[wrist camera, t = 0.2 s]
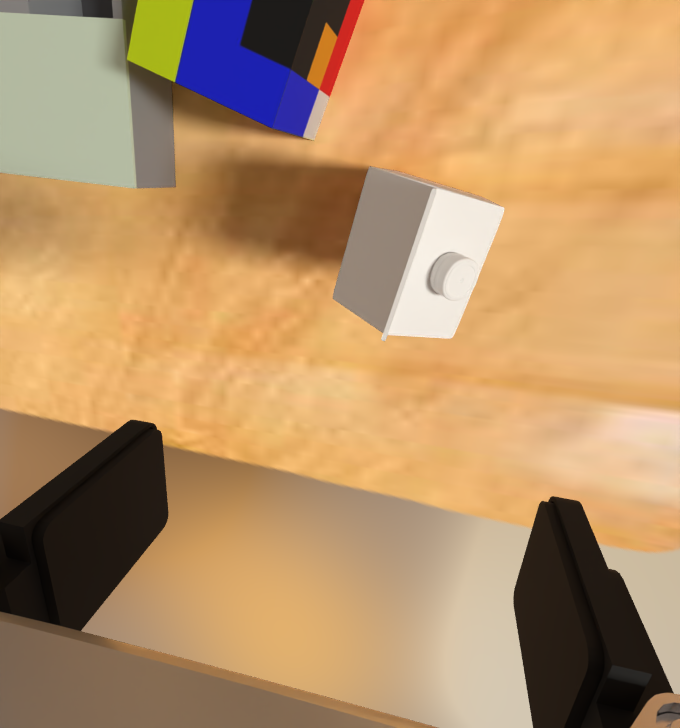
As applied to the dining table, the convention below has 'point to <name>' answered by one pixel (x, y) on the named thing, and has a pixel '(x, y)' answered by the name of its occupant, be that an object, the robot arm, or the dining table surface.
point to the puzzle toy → (250, 53)
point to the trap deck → (81, 96)
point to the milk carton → (414, 254)
